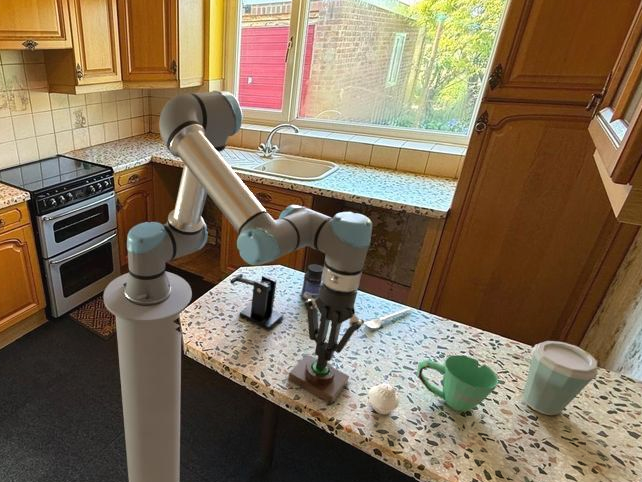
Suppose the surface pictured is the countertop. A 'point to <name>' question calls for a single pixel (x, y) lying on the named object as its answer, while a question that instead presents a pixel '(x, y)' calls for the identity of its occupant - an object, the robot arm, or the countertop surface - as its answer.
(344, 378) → the switch block
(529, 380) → the disposable coffee cup
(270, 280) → the switch bracket
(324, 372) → the button
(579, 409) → the countertop surface
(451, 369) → the mug
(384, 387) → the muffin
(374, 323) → the white spoon
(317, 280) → the pill bottle
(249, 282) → the lever
